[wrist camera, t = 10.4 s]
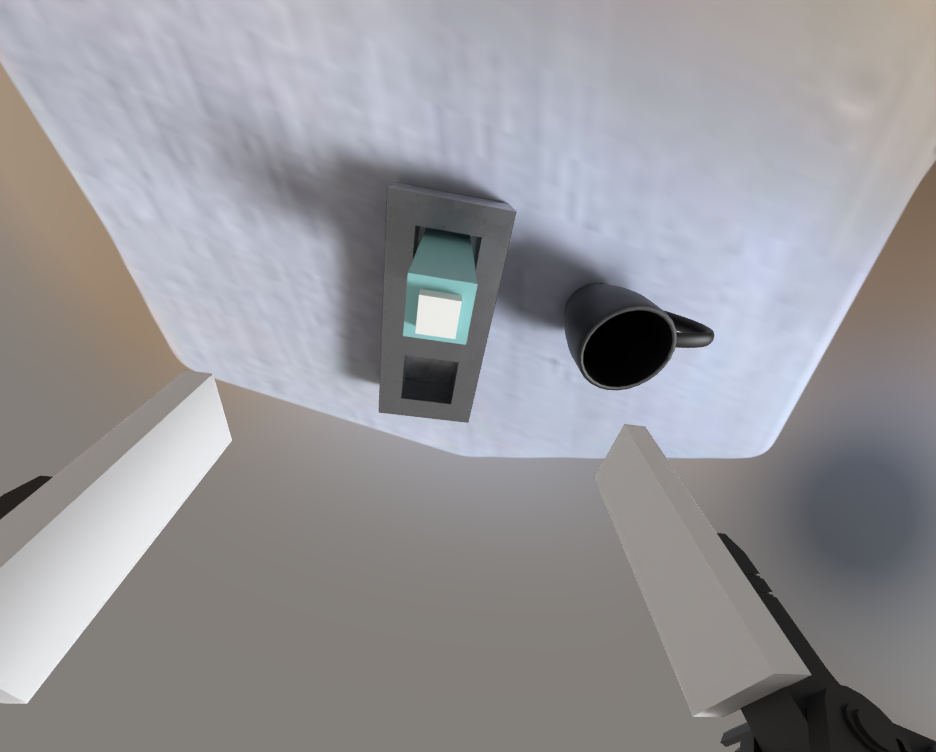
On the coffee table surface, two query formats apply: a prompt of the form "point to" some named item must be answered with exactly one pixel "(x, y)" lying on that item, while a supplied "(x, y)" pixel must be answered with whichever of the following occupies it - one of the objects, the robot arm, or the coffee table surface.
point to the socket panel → (405, 358)
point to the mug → (625, 335)
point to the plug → (441, 288)
